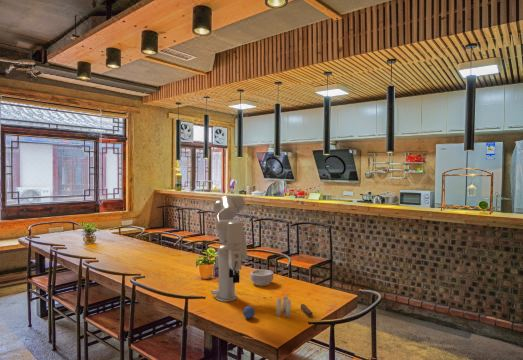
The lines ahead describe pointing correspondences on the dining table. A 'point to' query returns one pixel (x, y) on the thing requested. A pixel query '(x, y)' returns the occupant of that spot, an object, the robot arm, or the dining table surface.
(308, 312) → the wall
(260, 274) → the paper bowls
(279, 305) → the front pin
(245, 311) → the ball
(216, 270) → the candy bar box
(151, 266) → the dining table surface
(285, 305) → the back left pin
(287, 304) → the back right pin
